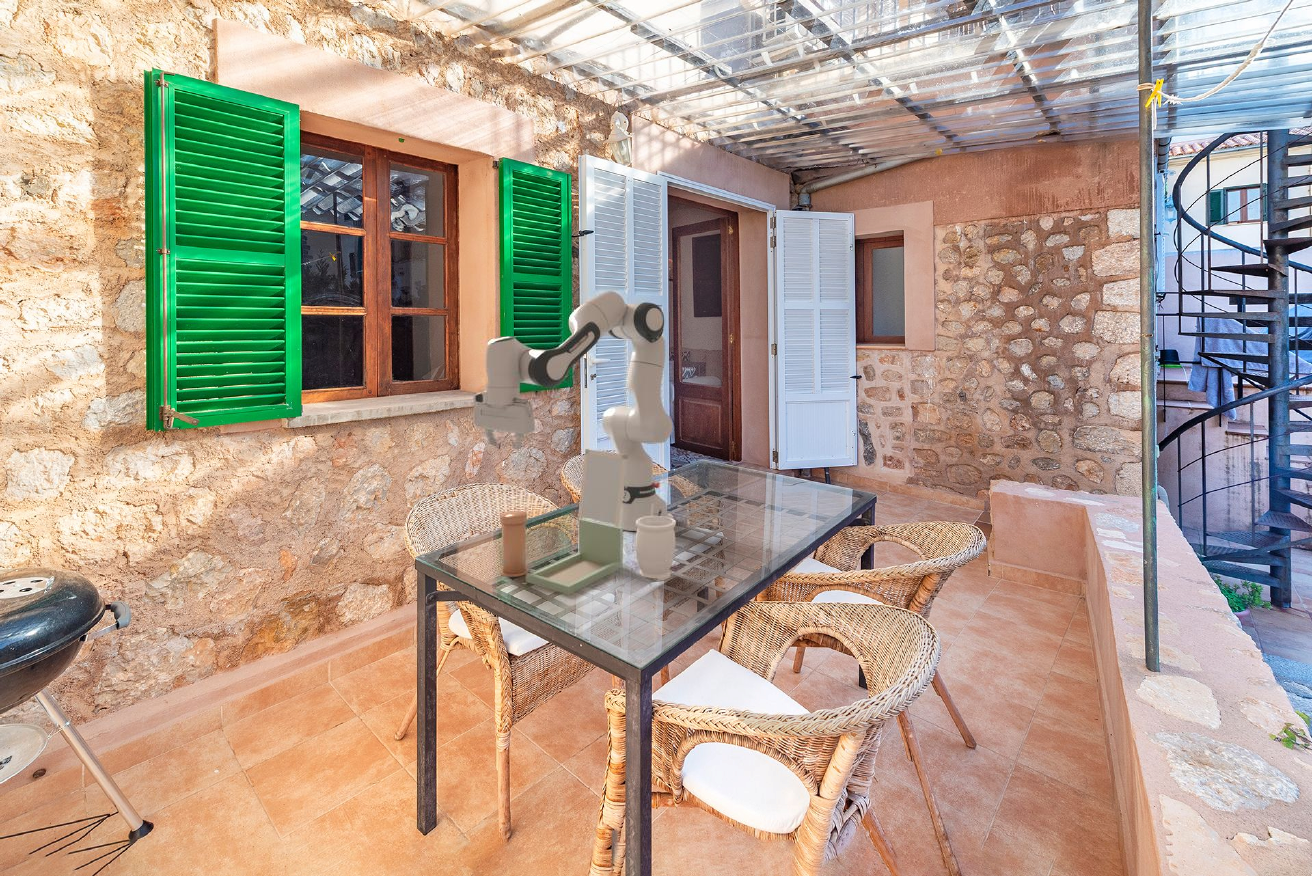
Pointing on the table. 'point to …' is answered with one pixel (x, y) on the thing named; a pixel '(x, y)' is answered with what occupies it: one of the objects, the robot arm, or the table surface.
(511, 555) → the orange-brown capped cylinder
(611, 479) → the lid
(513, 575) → the terracotta round disc
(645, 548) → the jar
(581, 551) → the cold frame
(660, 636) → the table surface
